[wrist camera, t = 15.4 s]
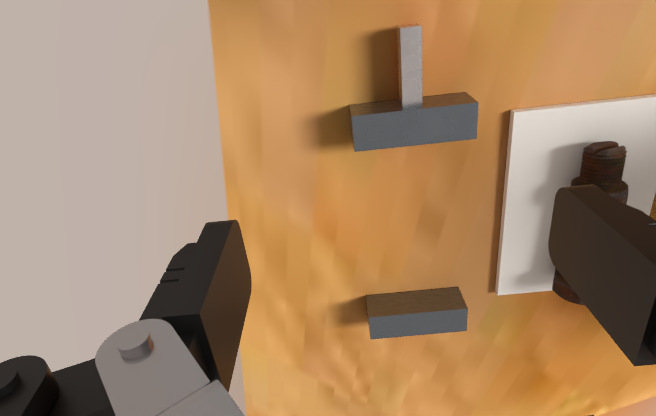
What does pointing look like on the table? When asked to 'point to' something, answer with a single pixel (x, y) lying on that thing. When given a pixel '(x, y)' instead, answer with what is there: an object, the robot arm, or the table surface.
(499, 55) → the table surface
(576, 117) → the board
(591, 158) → the bolt
